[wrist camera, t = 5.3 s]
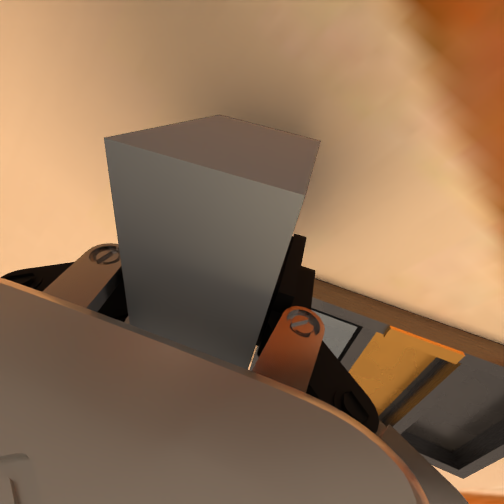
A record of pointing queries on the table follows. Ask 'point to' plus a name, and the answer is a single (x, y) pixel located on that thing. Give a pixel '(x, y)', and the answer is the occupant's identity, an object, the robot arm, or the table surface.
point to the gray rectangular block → (206, 226)
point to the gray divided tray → (420, 377)
